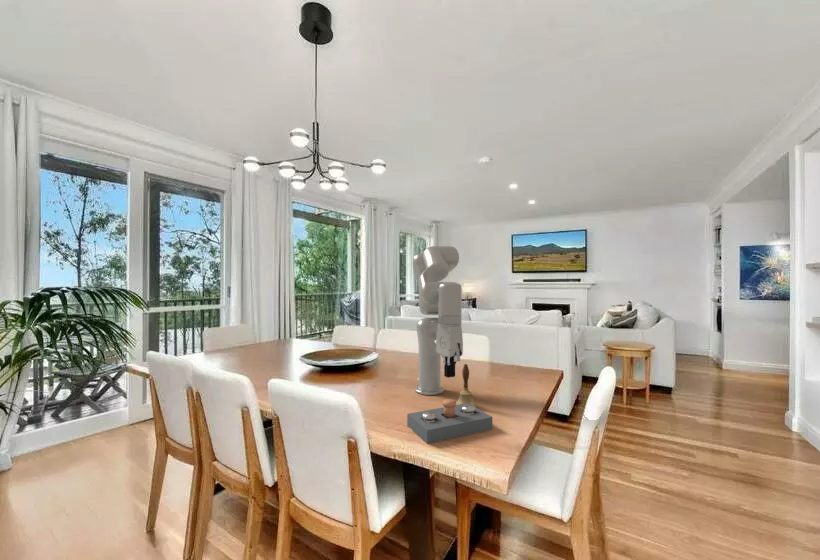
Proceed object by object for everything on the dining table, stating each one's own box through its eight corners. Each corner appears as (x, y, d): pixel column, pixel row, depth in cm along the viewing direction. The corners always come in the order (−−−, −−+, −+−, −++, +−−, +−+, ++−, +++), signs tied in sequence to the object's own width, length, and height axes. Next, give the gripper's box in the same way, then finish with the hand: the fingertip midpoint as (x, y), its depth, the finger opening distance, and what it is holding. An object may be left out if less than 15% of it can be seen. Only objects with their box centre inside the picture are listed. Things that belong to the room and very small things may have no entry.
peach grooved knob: (440, 415, 118) (440, 400, 118) (451, 413, 120) (451, 398, 120) (447, 420, 114) (447, 404, 114) (458, 417, 116) (458, 402, 116)
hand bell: (450, 406, 136) (450, 364, 136) (463, 400, 142) (463, 361, 142) (468, 412, 130) (468, 368, 130) (481, 406, 136) (481, 364, 136)
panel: (407, 425, 118) (407, 413, 118) (467, 414, 128) (467, 403, 128) (427, 443, 105) (427, 430, 105) (492, 429, 116) (492, 416, 116)
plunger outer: (420, 428, 115) (420, 413, 115) (431, 426, 117) (432, 410, 116) (426, 433, 111) (426, 417, 111) (438, 431, 113) (438, 415, 112)
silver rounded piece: (459, 420, 121) (459, 406, 121) (470, 418, 123) (470, 404, 123) (466, 425, 117) (466, 410, 117) (477, 423, 119) (477, 408, 119)
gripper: (428, 318, 122) (428, 372, 122) (452, 323, 108) (452, 384, 108) (447, 317, 125) (447, 370, 125) (472, 322, 111) (472, 381, 111)
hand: (449, 376), depth 116 cm, fingers closed
